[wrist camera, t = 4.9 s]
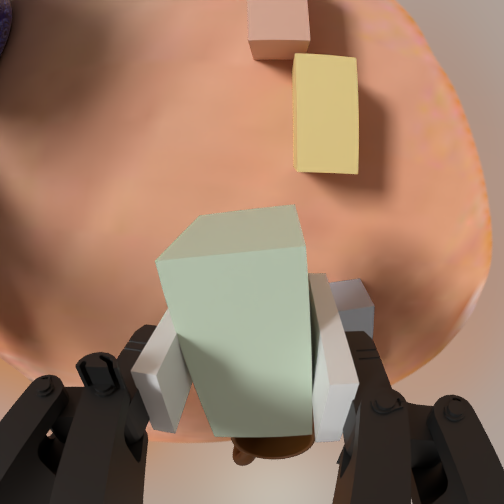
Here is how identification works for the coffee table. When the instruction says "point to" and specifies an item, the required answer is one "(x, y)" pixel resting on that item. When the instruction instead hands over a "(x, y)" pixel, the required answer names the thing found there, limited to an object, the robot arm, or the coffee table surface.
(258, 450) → the mug
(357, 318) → the slate brick
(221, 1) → the coffee table surface
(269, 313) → the sage brick
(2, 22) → the planter
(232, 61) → the coffee table surface
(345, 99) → the mustard brick
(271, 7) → the terracotta brick
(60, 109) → the coffee table surface
